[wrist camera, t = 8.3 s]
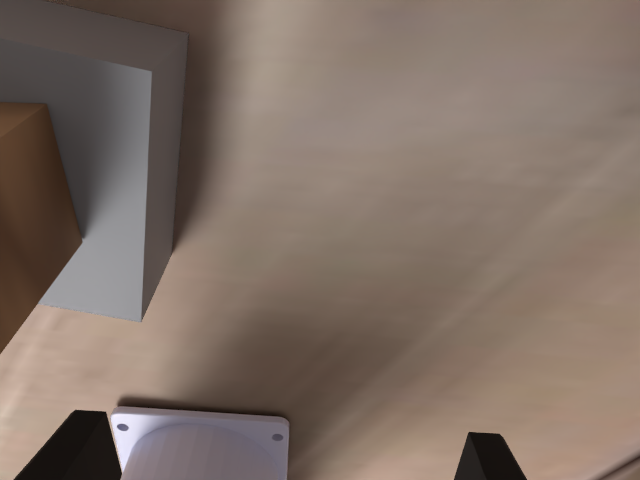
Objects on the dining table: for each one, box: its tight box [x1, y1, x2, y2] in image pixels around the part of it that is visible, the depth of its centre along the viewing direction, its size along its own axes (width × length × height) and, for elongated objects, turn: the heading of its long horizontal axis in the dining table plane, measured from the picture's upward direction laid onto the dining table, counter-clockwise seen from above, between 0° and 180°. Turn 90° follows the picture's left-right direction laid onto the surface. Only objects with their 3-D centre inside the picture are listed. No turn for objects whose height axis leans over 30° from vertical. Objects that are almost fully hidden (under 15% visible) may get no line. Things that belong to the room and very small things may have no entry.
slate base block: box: [0, 0, 189, 322], centre depth 16 cm, size 8×8×4 cm
